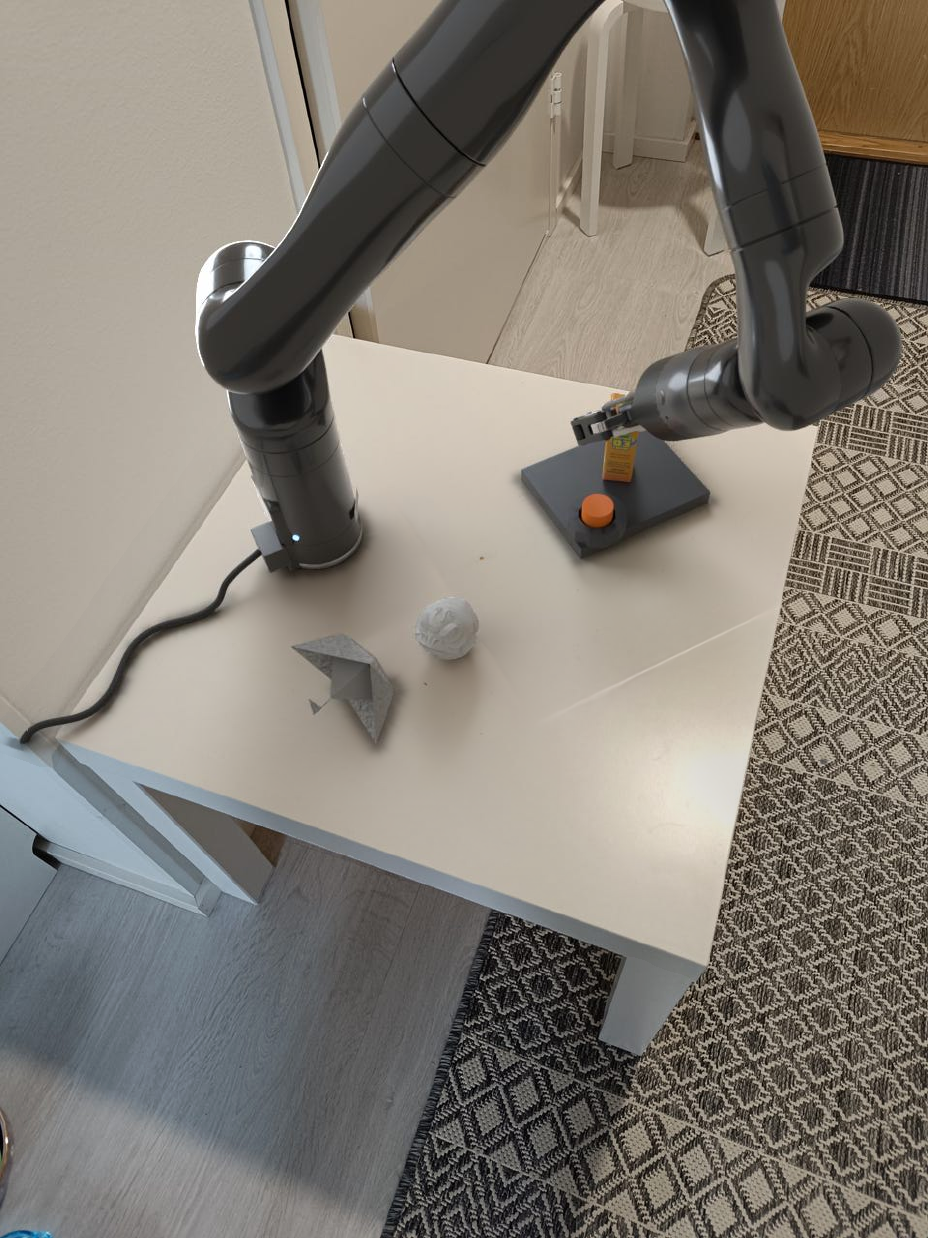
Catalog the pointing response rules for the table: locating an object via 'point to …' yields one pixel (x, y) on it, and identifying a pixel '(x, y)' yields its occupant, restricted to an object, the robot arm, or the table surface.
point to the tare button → (597, 510)
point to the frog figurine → (447, 628)
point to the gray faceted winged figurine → (351, 678)
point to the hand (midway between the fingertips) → (615, 413)
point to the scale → (613, 491)
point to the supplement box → (620, 453)
